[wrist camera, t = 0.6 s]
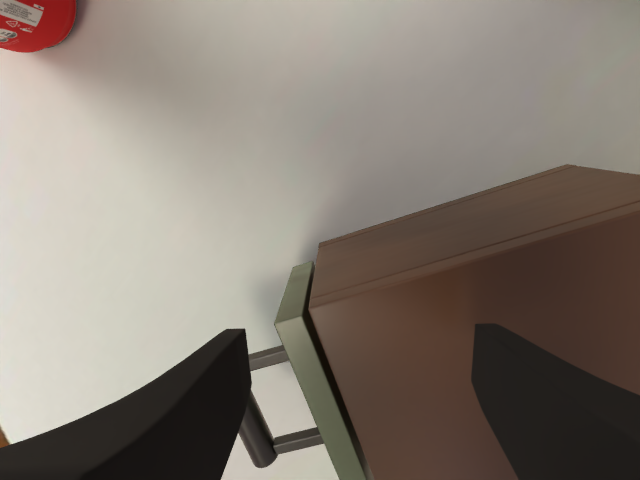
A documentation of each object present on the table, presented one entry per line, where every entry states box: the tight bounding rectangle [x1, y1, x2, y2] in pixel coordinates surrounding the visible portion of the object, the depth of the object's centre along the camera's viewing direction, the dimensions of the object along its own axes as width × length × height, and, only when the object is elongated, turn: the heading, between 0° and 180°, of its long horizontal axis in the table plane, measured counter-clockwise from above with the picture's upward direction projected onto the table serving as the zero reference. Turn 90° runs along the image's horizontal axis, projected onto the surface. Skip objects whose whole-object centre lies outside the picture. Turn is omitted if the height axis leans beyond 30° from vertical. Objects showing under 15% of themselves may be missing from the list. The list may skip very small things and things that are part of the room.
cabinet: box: [308, 164, 640, 480], centre depth 18 cm, size 14×12×8 cm
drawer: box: [238, 261, 374, 480], centre depth 18 cm, size 17×10×6 cm, turn 109°
